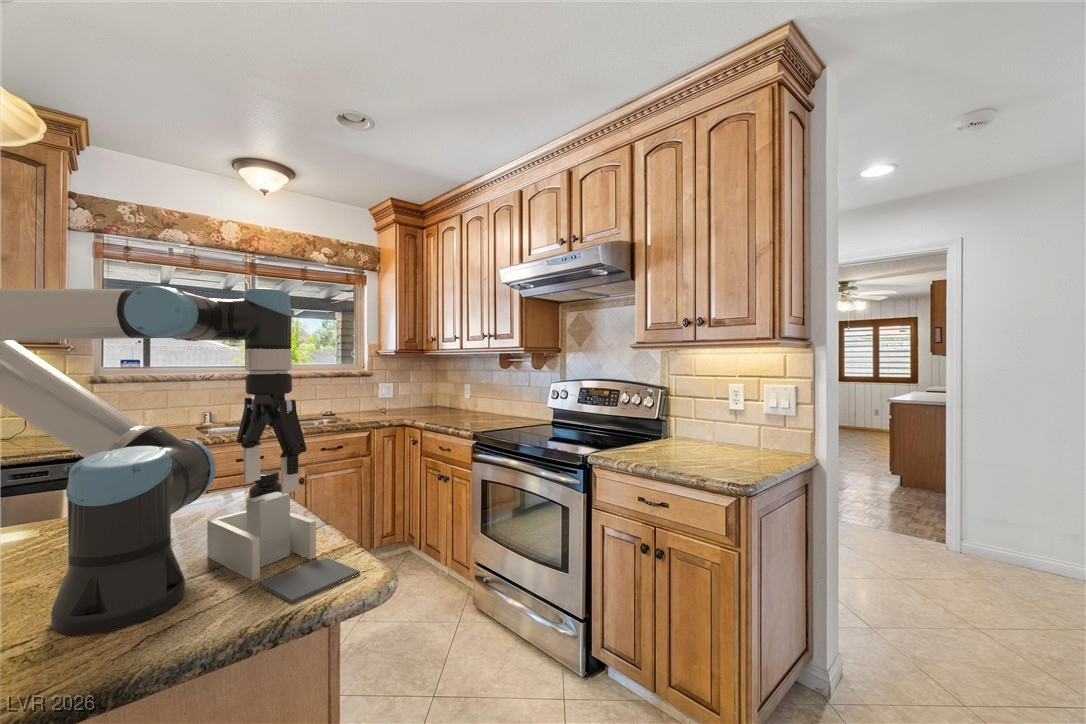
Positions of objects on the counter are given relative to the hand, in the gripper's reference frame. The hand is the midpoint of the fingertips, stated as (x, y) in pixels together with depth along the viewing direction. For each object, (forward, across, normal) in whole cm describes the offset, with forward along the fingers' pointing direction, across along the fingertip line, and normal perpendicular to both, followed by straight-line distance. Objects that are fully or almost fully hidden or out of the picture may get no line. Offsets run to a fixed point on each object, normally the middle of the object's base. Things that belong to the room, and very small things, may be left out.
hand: (270, 486), depth 89 cm
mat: (+14, -14, 0) cm, 20 cm away
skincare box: (+14, 0, 0) cm, 14 cm away
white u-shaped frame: (+14, +3, 0) cm, 14 cm away
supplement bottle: (+14, +19, -9) cm, 25 cm away
